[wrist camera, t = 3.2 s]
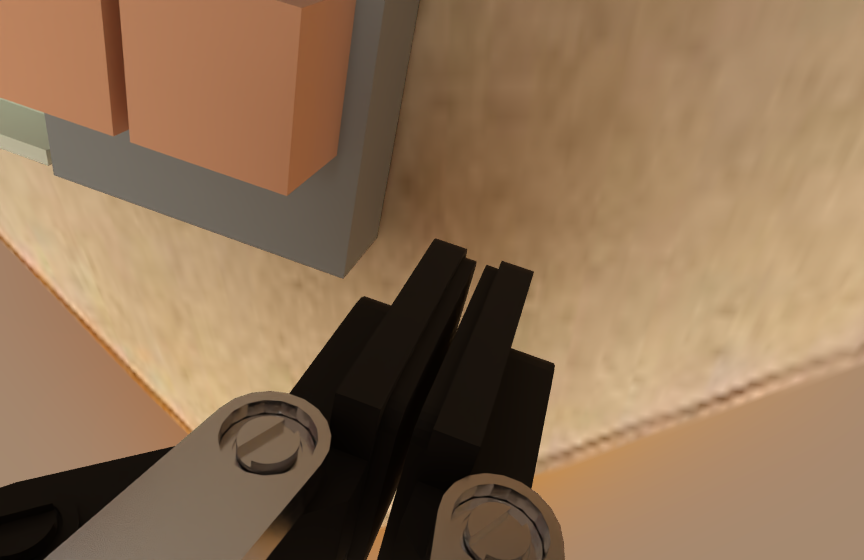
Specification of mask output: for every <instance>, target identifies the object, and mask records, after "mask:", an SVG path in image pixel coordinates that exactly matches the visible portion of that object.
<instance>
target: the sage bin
mask: <svg viewBox="0 0 864 560" xmlns="http://www.w3.org/2000/svg"><path fill="white" fill-rule="evenodd" d="M0 149H3V150H6V151H8V152H11V153H14V154H17V155H20V156H22V157H25V158H28V159H31V160H34V161H36V162H39V163H42V164H45V165H48V166H49V165H51V164H52V159H51V153H50V147H49V140H48V134H47V128H46V121H45V115H44V112H41V111H38V110H35V109H32V108H29V107H26V106H23V105H20V104H17V103H15V102H12V101H9V100H6V99H3V98H0Z"/></svg>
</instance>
